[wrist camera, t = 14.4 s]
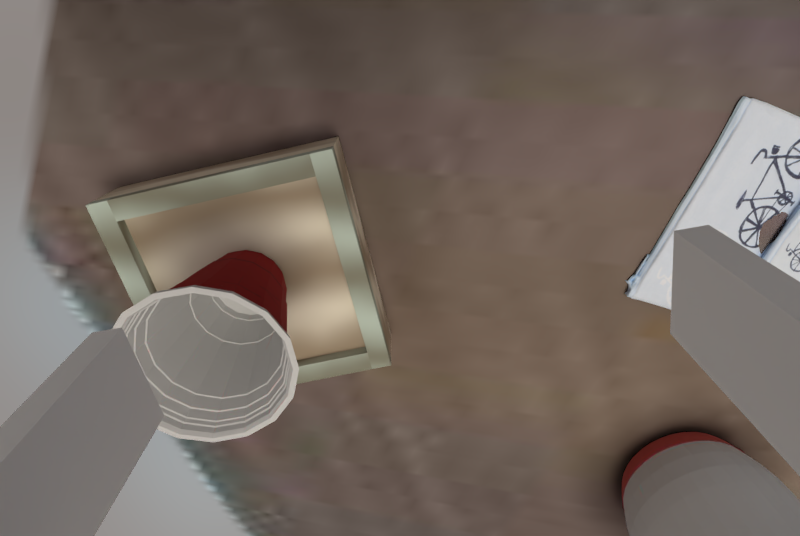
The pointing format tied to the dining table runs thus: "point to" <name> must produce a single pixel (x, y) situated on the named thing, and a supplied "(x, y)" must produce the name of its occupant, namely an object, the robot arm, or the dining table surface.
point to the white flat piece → (737, 196)
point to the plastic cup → (217, 348)
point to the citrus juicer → (704, 491)
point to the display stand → (262, 245)
